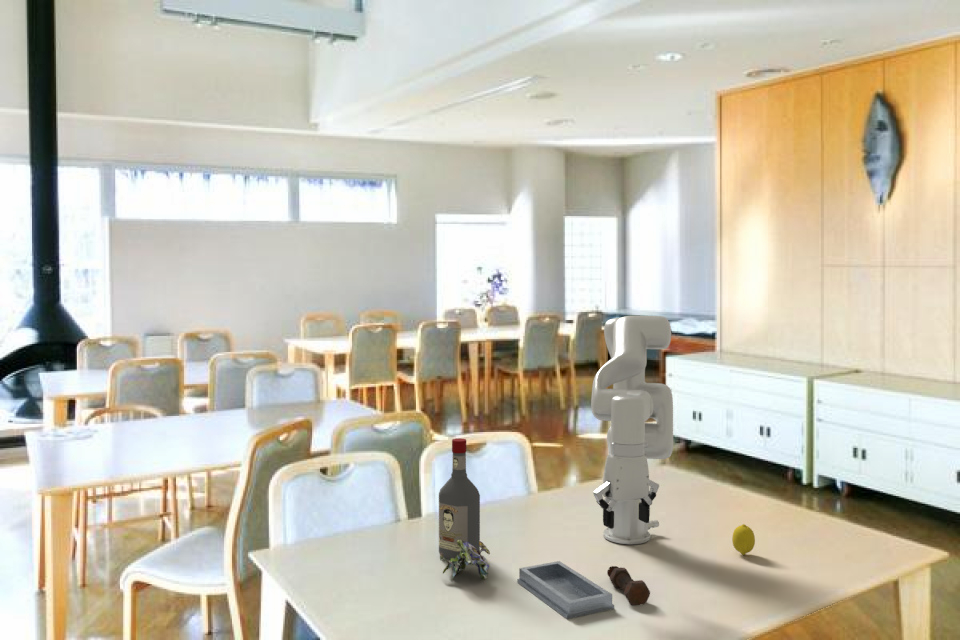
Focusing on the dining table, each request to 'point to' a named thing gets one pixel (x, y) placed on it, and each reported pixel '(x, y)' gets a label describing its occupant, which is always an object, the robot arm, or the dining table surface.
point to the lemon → (743, 539)
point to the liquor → (458, 507)
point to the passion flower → (468, 559)
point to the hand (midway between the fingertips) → (626, 524)
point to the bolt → (629, 585)
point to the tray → (565, 589)
